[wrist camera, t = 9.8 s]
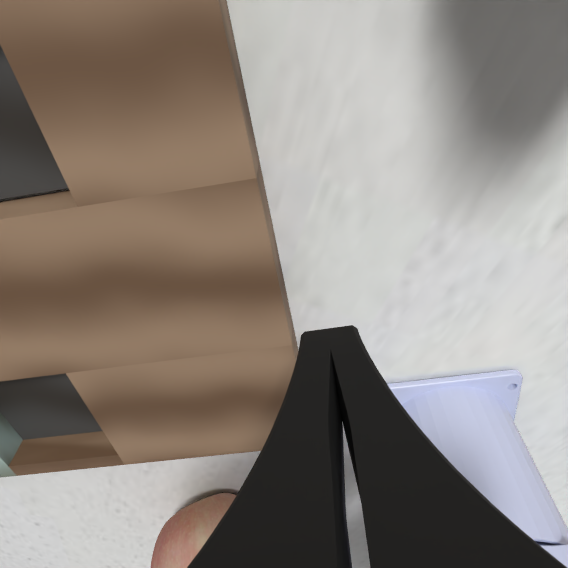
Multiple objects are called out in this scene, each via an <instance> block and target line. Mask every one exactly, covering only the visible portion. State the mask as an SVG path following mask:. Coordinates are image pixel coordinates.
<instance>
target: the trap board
mask: <svg viewBox="0 0 568 568" xmlns="http://www.w3.org/2000/svg"><path fill="white" fill-rule="evenodd" d="M66 188H69V190H68V191H62V192H56V193H50V194H44V195H38V196H31V197H25V198H19V199H13V200H7V201H1V202H0V477H9V476H18V475H28V474H38V473H48V472H58V471H67V470H77V469H87V468H97V467H106V466H116V465H126V464H136V463H146V462H155V461H165V460H175V459H185V458H194V457H204V456H214V455H224V454H234V453H243V452H253V451H262V449H263V446H264V444H265V442H266V440H267V438H268V436H269V434H270V432H271V429H272V427H273V425H274V422H275V420H276V417H277V415H278V413H279V410H280V408H281V405H282V403H283V400H284V398H285V395H286V392H287V389H288V386H289V383H290V380H291V377H292V374H293V370H294V367H295V363H296V360H297V356H298V347H297V342H296V337H295V332H294V327H293V322H292V317H291V313H290V308H289V303H288V298H287V293H286V288H285V283H284V278H283V274H282V269H281V264H280V259H279V254H278V249H277V244H276V240H275V235H274V230H273V225H272V220H271V215H270V210H269V206H268V201H267V196H266V191H265V186H264V181H263V176H262V171H261V167H260V162H259V157H258V152H257V147H256V142H255V137H254V133H253V128H252V123H251V118H250V113H249V108H248V103H247V99H246V94H245V89H244V84H243V79H242V74H241V69H240V65H239V60H238V55H237V50H236V45H235V40H234V35H233V30H232V26H231V21H230V16H229V11H228V6H227V1H226V0H0V199H6V198H12V197H18V196H24V195H30V194H36V193H42V192H48V191H54V190H60V189H66Z"/></svg>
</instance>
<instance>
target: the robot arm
mask: <svg viewBox="0 0 568 568" xmlns="http://www.w3.org/2000/svg"><path fill="white" fill-rule="evenodd" d="M522 379H523V378H522V375H521V373H520V372H519V371H517V370H505V371H496V372H487V373H478V374H470V375H461V376H452V377H443V378H434V379H426V380H417V381H408V382H399V383H390V384H387V383H386V382H385V380H384V379H383V377H382V376H381V374H380V373H379V371H378V370H377V368H376V366H375V365H374V363H373V361H372V359H371V358H370V356H369V354H368V352H367V350H366V348H365V346H364V344H363V342H362V340H361V337H360V335H359V332H358V329H357V328H356V327H354V326H353V325H351V326H344V327H337V328H329V329H322V330H314V331H307V332H304V333H303V334H302V335H301V340H300V346H299V351H298V356H297V360H296V363H295V367H294V370H293V374H292V377H291V380H290V383H289V386H288V389H287V392H286V395H285V398H284V400H283V403H282V405H281V408H280V410H279V413H278V415H277V417H276V420H275V422H274V425H273V427H272V429H271V432H270V434H269V436H268V438H267V440H266V442H265V444H264V446H263V449H262V451H261V452H260V454H259V456H258V458H257V460H256V462H255V464H254V466H253V468H252V470H251V471H250V473H249V475H248V477H247V478H246V480H245V482H244V484H243V485H242V487H241V489H240V491H239V492H238V494H237V496H236V497H235V499H234V501H233V502H232V504H231V505H230V507H229V509H228V510H227V512H226V513H225V514H224V516H223V517H222V519H221V520H220V522H219V523H218V525H217V526H216V528H215V529H214V531H213V532H212V534H211V535H210V537H209V538H208V540H207V541H206V543H205V544H204V545H203V547H202V548H201V550H200V551H199V552H198V554H197V555H196V556H195V558H194V559H193V560H192V562H191V563H190V564H189V565H188V567H187V568H352V563H351V555H350V547H349V538H348V530H347V520H346V507H345V480H344V452H343V425H344V430H345V434H346V438H347V443H348V447H349V451H350V456H351V460H352V464H353V469H354V473H355V477H356V482H357V486H358V490H359V495H360V499H361V503H362V510H363V517H364V524H365V531H366V538H367V545H368V552H369V559H370V566H371V568H568V528H567V526H566V524H565V522H564V520H563V518H562V516H561V514H560V512H559V510H558V509H557V507H556V505H555V503H554V501H553V499H552V497H551V495H550V493H549V491H548V489H547V487H546V485H545V483H544V481H543V479H542V477H541V475H540V473H539V471H538V469H537V467H536V465H535V463H534V461H533V459H532V457H531V455H530V453H529V451H528V449H527V447H526V445H525V443H524V441H523V439H522V437H521V435H520V433H519V431H518V429H517V427H516V425H515V423H514V419H515V414H516V409H517V404H518V399H519V394H520V389H521V384H522ZM342 421H343V424H342Z"/></svg>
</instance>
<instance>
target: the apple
mask: <svg viewBox="0 0 568 568" xmlns="http://www.w3.org/2000/svg"><path fill="white" fill-rule="evenodd" d="M236 496H237V495H234V494H231V493H220V494H216V495H212V496H209V497H207V498H204V499H201V500H199V501H196V502H194V503H192V504H190V505H188V506H187V507H185V508H183V509H181V510H180V511H178V512H177V513H176V514H175V515H174V516H172V517H171V518H170V519H169V520H168V521H167V522H166V523H165V525H164V526H163V528H162V530H161V532H160V534H159V536H158V538H157V541H156V544H155V547H154V551H153V556H152V561H151V568H187V567H188V565H189V564H190V563H191V562H192V560H193V559H194V558H195V556H196V555H197V554H198V552H199V551H200V550H201V548H202V547H203V545H204V544H205V543H206V541H207V540H208V538H209V537H210V535H211V534H212V532H213V531H214V529H215V528H216V526H217V525H218V523H219V522H220V520H221V519H222V517H223V516H224V514H225V513H226V512H227V510H228V509H229V507H230V505H231V504H232V502H233V501H234V499H235V497H236Z"/></svg>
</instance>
